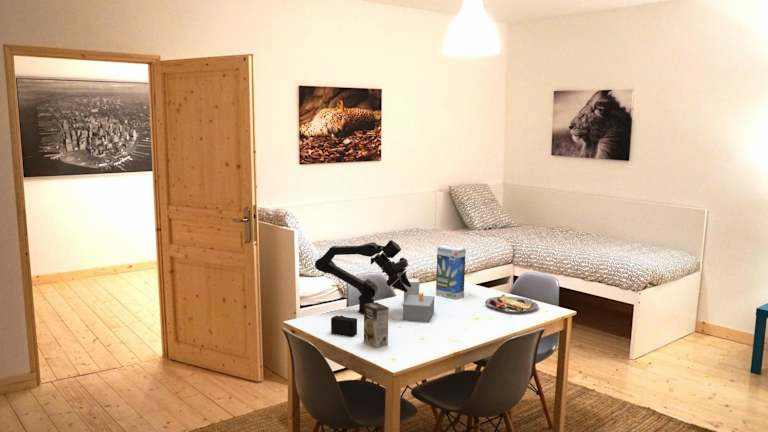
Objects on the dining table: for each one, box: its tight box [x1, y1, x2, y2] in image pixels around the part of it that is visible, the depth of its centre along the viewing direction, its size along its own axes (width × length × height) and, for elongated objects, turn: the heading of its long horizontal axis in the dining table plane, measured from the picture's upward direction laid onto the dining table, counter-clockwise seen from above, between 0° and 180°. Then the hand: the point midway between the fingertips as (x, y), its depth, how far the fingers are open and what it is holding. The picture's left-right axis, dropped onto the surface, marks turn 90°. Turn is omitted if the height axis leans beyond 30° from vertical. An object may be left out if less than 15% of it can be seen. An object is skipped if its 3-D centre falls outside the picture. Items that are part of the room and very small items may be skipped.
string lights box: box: [435, 244, 467, 300], centre depth 334 cm, size 13×8×26 cm, turn 50°
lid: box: [402, 292, 435, 307], centre depth 299 cm, size 12×16×4 cm
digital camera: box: [330, 315, 358, 338], centre depth 275 cm, size 10×5×7 cm, turn 67°
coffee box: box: [363, 301, 390, 349], centre depth 262 cm, size 9×6×16 cm
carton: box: [402, 299, 435, 323], centre depth 300 cm, size 12×16×7 cm
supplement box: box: [403, 278, 420, 302], centre depth 318 cm, size 7×7×13 cm
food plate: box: [485, 294, 539, 313], centre depth 317 cm, size 25×23×4 cm
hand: (408, 289), depth 300 cm, fingers open, 9 cm apart
